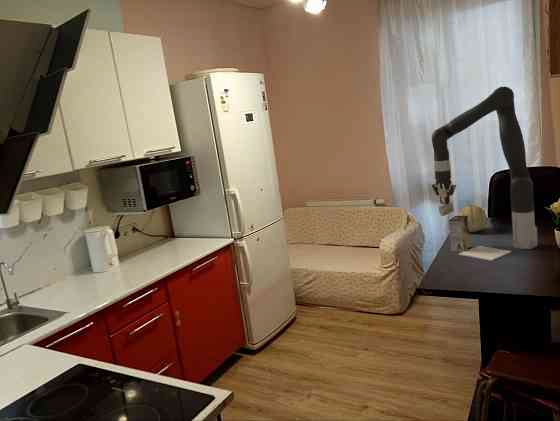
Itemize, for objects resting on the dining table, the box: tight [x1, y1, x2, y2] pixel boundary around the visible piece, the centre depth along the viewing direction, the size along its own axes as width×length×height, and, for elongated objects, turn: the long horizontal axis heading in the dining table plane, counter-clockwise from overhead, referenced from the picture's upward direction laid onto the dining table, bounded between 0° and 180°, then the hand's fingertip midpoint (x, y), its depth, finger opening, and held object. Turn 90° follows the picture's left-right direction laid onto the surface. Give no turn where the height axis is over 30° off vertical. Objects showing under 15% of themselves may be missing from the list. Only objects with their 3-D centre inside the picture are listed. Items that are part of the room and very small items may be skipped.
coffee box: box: [448, 215, 471, 253], centre depth 223 cm, size 9×6×16 cm
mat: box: [458, 245, 512, 261], centre depth 213 cm, size 17×15×1 cm
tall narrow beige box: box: [438, 189, 454, 217], centre depth 227 cm, size 2×8×13 cm, turn 122°
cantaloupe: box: [458, 204, 488, 233], centre depth 250 cm, size 15×15×15 cm
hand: (445, 203), depth 227 cm, fingers closed on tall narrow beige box, 2 cm apart
